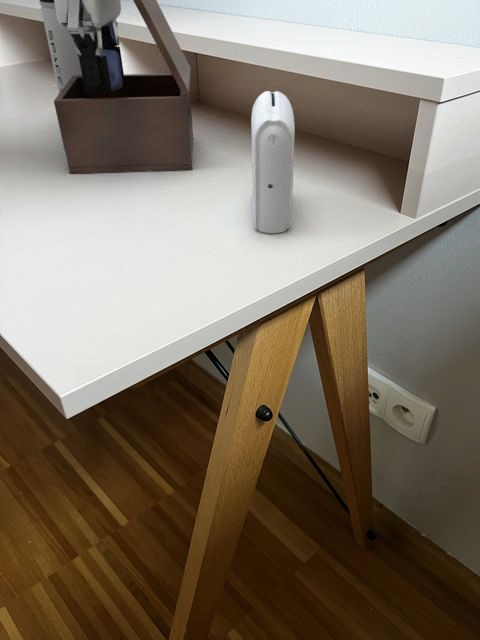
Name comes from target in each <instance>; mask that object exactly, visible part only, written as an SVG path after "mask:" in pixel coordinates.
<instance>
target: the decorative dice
mask: <svg viewBox="0 0 480 640" xmlns="http://www.w3.org/2000/svg"><path fill="white" fill-rule="evenodd" d="M102 51H103V56H106V58H107V64H108V71H109V77H110V83H111V91H115V90H118V89H120V88H121V87H122V72H121V65H120V59H119V55H118V53H117V52H116V51H113V50H102Z"/></svg>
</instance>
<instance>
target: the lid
mask: <svg viewBox="0 0 480 640" xmlns="http://www.w3.org/2000/svg"><path fill="white" fill-rule="evenodd" d="M132 1H133V2H134V4H135V6H136V8H137V11H138V12H139V14H140V16H141V18H142V20H143V22H144V24H145V25H146V28H147V29H148V32H149V33H150V35H151V38H152V39H153V41H154V43H155V45H156V46H157V48H158V50H159V52H160V54H161V56H162V58H163V60H164V62H165V64H166V65H167V68H168V69H169V71H170V74H172V75H173V77H174V79H175V80H176V82H177V84H178V86H179V88H180V90H181V92H182V94H183V95H185V94H186V93H188V92H189V87H190V81H191V66H190V64H189V62H188V60H187V58H186V56H185V54H184V52H183V50H182V47H181V46H180V44H179V42H178V40H177V38H176V36H175V34H174V32H173V30H172V28H171V26H170V25H169V24H170V23H169V22H168V20H167V18H166V17H165V14H164V12H163V11H162V8H161V6H160V4H159V2H158V1H157V0H132Z"/></svg>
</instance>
